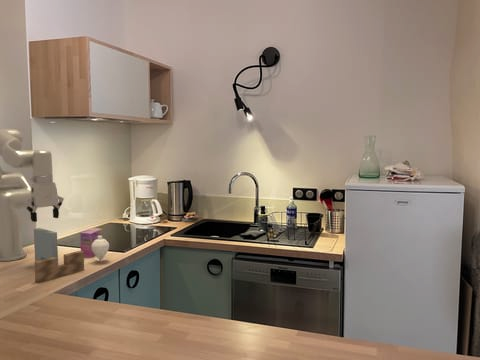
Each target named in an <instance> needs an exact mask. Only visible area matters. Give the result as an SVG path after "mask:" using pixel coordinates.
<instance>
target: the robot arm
mask: <svg viewBox="0 0 480 360" xmlns="http://www.w3.org/2000/svg"><path fill="white" fill-rule="evenodd" d="M23 139H24V137H23V134H22V133H21V131H19V130H18V129H15V128H0V157H1V158H2V160H3V162H4V163H5V164H7V165H9V166H10V167H11V168H14V169H28V168H29V169H31V168H32V177H31V178H30V179H29V180H30V182H32V183H31V184H30V183H29V181H28V179H27V177H25V175H24V174H23V173H21V172H19V171H15V170H12V171H5V170H3V168H2V167H1V166H0V262H10V261H11V262H12V261H19V260H21V259H24V258H25V257H27V256H28V255H27V252H25V251H23V250H24V249H23V231H22V219H21V216H20V214H18V212H17V211H18V210H23V209H24V210H25V209H26V210H27V211H28V212H29V214H30V220H31V222H34V223H36V222H37V221H38V215H37V214H38V213H37V212H36V211H37V210H38V208H47V207H53V208H52V217H53V218H55V219H59V216H60V212H59V211H60V209H61V206H62V205H63V202H64V197H62V196H61V195H59V193H58V189H57V184H56V182H54V179H53V178H54V175H53V158H52V157H53V156H52V152H51V151H49V150H39V149H29V150H25V149H24V150H22V147H23Z"/></svg>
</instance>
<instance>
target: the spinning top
mask: <svg viewBox="0 0 480 360" xmlns="http://www.w3.org/2000/svg"><path fill="white" fill-rule="evenodd" d="M109 243H110V242H108V241H107V239H105V238H103V235H102V236H98V239H96V240H95V241H94V242H93V243H92V245H91V248H92V251H93V253H94V254H95V255H96V256H95V257H96V258H97V259H98V260H99V261H100V263H102V260H103V259H104V258H105V256H106V255H107V253H108V251H109V249H110V244H109Z"/></svg>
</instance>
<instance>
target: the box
mask: <svg viewBox="0 0 480 360" xmlns="http://www.w3.org/2000/svg"><path fill="white" fill-rule="evenodd" d="M98 236H102V237H103V228H100V227H98V228H97V227H92V228H89V229H86V230H84V231H81V232H80V236H79V237H80V238H79V239H80V251H83V252H84V258H85V259H86V258H89V259H91V258H93V257H96V255H95V254H94V253H93V251H92V248H91V245H92V243H93V242H94V241H95V240H96V239H98Z"/></svg>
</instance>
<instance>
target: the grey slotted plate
mask: <svg viewBox="0 0 480 360" xmlns="http://www.w3.org/2000/svg"><path fill="white" fill-rule="evenodd" d="M33 242H34V243H33V244H34V247H33V249H34V262H36V261H40V260H44V259H48V258H52V257H54V258H57V266H59V255H58V254H59V251H58V250H59V247H58V232H57V231H54V230H48V229H45V228H40V227H38V228H33Z"/></svg>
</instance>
